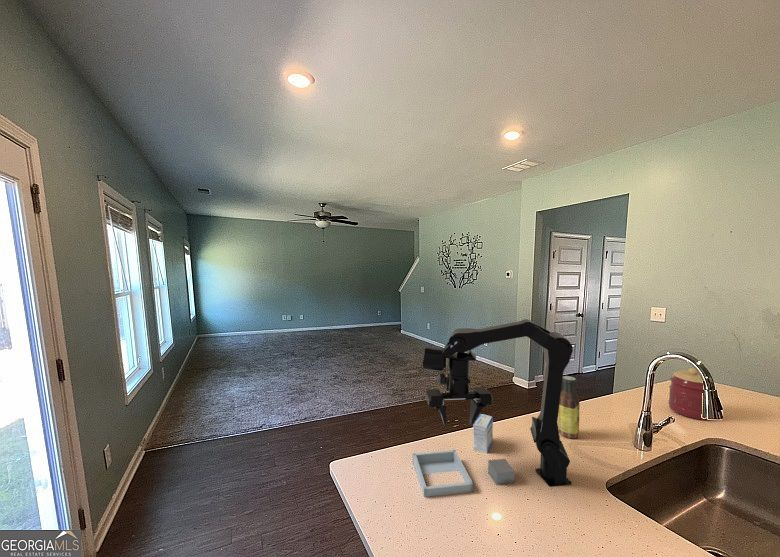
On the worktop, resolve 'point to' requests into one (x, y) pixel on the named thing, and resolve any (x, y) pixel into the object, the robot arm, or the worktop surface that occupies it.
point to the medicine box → (483, 433)
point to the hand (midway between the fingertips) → (457, 424)
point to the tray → (439, 464)
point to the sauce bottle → (568, 409)
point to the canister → (686, 393)
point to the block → (501, 471)
